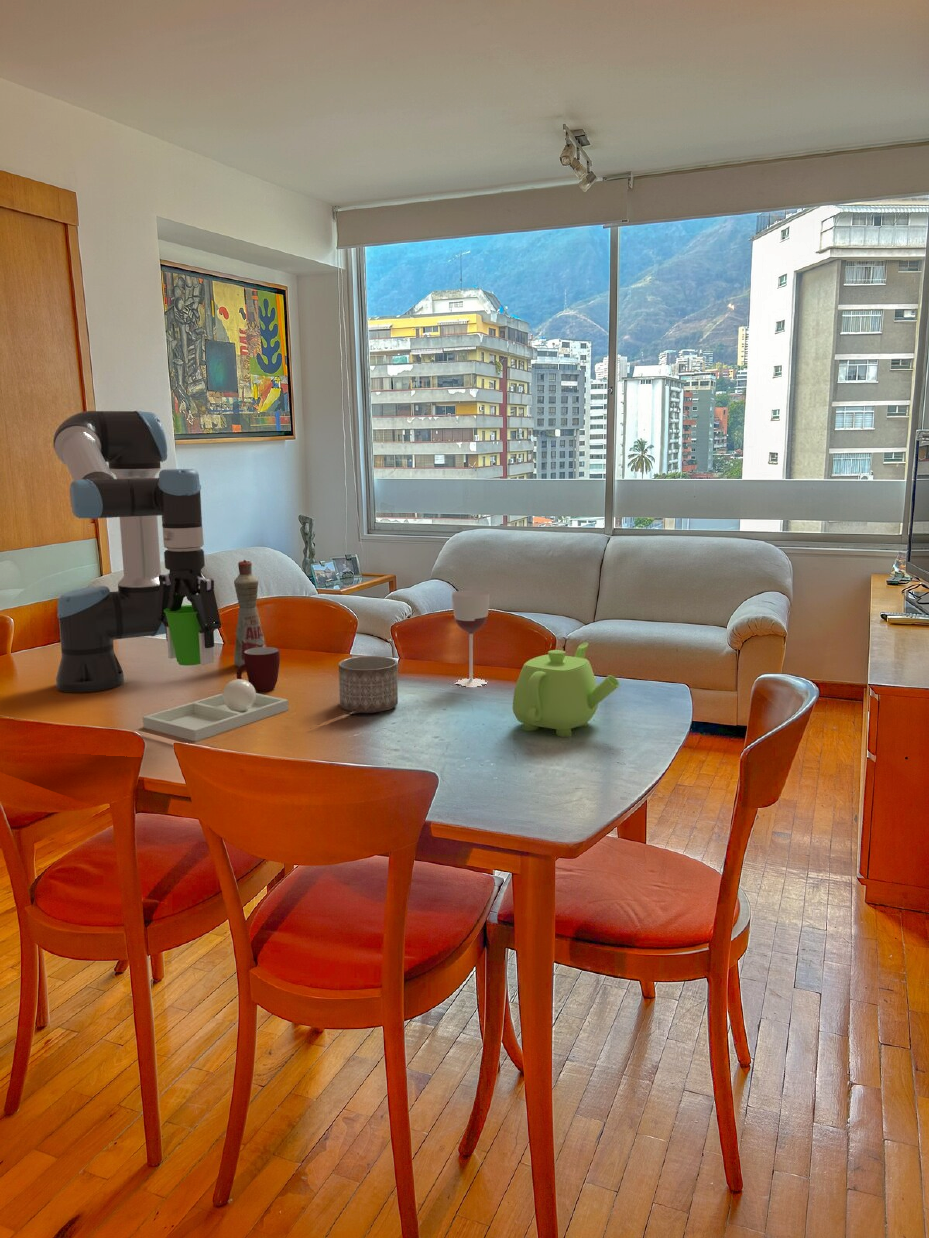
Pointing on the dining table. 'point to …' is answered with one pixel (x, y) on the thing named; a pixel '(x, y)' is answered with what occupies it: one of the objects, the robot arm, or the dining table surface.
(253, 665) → the mug
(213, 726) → the tray
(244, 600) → the bottle
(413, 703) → the dining table surface
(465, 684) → the wineglass
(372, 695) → the planter
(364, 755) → the dining table surface
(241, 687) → the white ball
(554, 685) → the teapot
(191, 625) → the cup
